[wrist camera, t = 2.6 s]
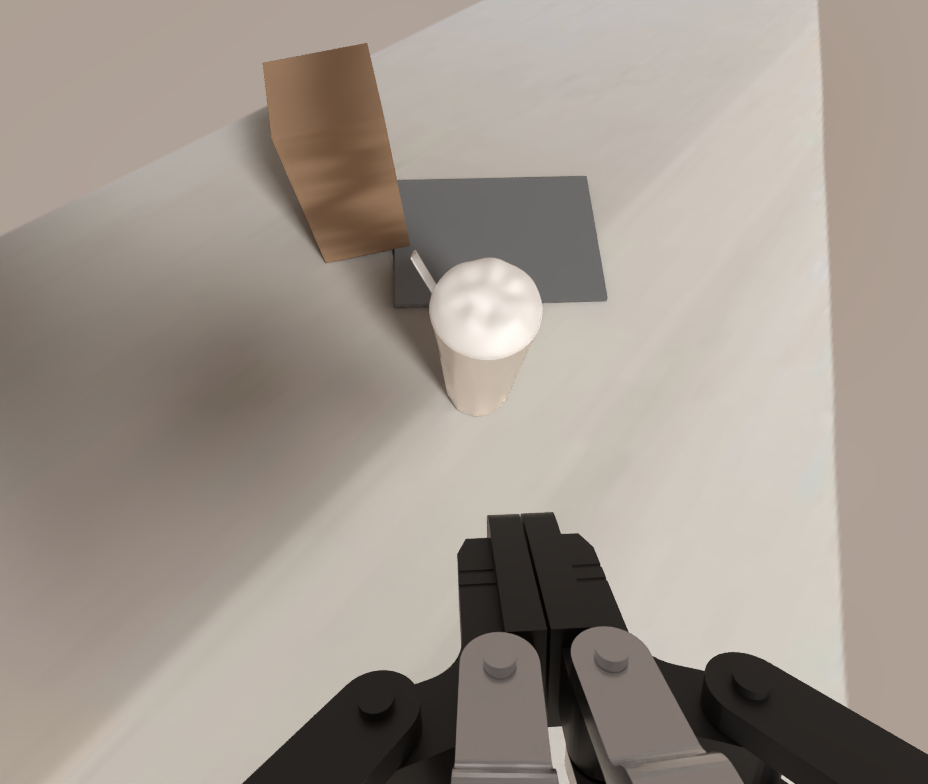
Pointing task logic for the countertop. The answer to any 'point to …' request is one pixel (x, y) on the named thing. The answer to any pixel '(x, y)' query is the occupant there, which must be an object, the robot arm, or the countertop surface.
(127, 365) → the countertop surface
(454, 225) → the mat
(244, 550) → the countertop surface
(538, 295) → the milkshake
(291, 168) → the walnut block
